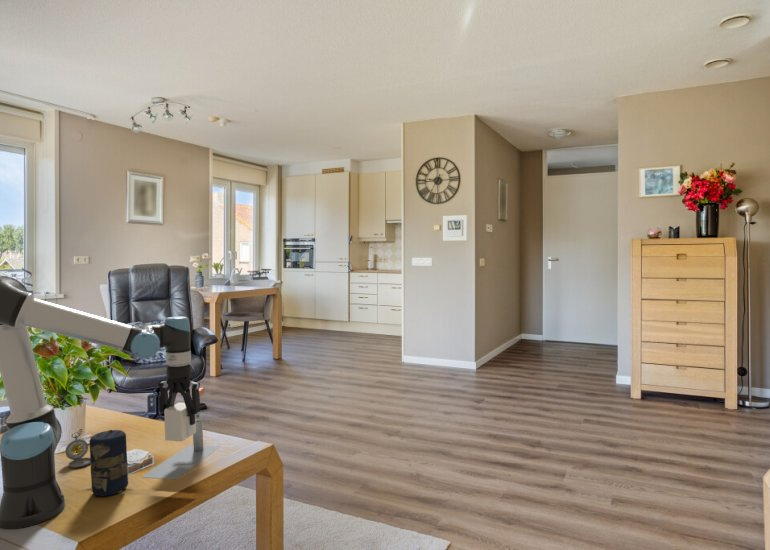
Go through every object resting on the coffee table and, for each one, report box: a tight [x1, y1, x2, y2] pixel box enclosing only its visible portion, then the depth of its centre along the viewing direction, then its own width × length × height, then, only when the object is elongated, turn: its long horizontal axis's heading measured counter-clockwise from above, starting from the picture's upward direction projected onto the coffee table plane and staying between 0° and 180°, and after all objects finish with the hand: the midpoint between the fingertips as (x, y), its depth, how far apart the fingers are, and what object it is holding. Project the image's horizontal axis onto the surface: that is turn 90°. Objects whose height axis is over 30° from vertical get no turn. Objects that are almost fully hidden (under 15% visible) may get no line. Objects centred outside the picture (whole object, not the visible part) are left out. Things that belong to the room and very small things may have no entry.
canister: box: [89, 429, 129, 497], centre depth 149 cm, size 10×10×18 cm
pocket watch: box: [65, 431, 90, 469], centre depth 170 cm, size 8×8×10 cm
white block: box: [163, 402, 196, 442], centre depth 166 cm, size 8×6×10 cm
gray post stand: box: [141, 419, 221, 480], centre depth 167 cm, size 26×12×11 cm, turn 169°
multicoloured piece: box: [196, 387, 205, 422], centre depth 177 cm, size 9×7×10 cm
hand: (180, 433), depth 166 cm, fingers closed on white block, 6 cm apart
